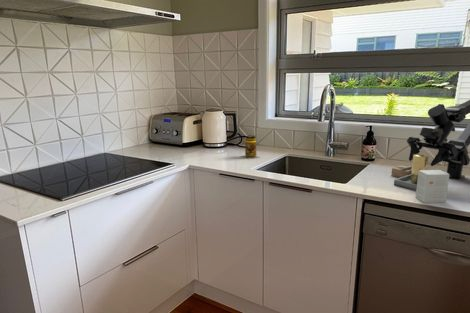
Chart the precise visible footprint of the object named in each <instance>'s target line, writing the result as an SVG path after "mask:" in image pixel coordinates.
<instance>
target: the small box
mask: <svg viewBox="0 0 470 313" xmlns="http://www.w3.org/2000/svg"><path fill="white" fill-rule="evenodd" d="M449 180H450V177H449V174H448V173H446V171H443V170H441V169H427V170H419V173H418V181H417V190H415V198H416V199H417V200H419V201H420V202H422V203H424V204H430V203H432V204H433V203H446V202H447V196H448V194H447V193H448V189H449V188H448V187H449V182H450V181H449Z"/></svg>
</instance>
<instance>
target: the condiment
mask: <svg viewBox="0 0 470 313" xmlns="http://www.w3.org/2000/svg"><path fill="white" fill-rule="evenodd" d="M244 146H245V149H244V150H245V152H244V153H245V154H244V155H241V157H242V158H245V159H248V160H250V159H251V160H252V159H257V158H259V156H258V155H257V138H256V135H252V134H251V135H246V136H245V142H244Z"/></svg>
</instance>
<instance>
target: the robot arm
mask: <svg viewBox="0 0 470 313" xmlns="http://www.w3.org/2000/svg"><path fill="white" fill-rule="evenodd" d="M468 114H470V99H469V100H466V101H464V102H462V103H461V104H458V105H452V106H447V107H445V105H444V104H443V103H438V104H437V105H436V106H433V107H431V108H429V110H428V111H427V115H428V117H429V118H430V120H431V122H432V124H433V125H434V126H435V127H434V128H431V127H424V126H423V127H422V128H421V131H420V133H419V136H421V137H422V139H423V141H421V139H420V138H419V137H415V136H409V137H408V138H407V139H406V143H407V144H408V146H409V147H410V152H409V156H408V160H409V162H411V161H413V155H414V154H420V152H421V151H420V150H422V148H426V149H431V150H437V151H438V152H437V153H436V155H435V157H434V158H433V160H432V161H431V163H430V166H431V167H433V166H435V165H437V164H439V163H441V162H445V163H447V166H446V171H445V172H446V173H448V174H449V179H450V178H451V179H455V180H461V179H462V178H465V177H466V176H465V175H464V174H463V170H464V169H463V168H464V166H468V165H469V164H470V157H469V149H468V147H469V145H470V122H469V123H468V124H467V125H466V127H465V128H464V130H463V131H462V133H461V134H460V135H459V136H458V138H457V139H455V140H453V139H451V140H449V141H448V136H449V135H450V134H451V132H454V133H455V131H456V129H455V128H456V127H455V124H454V123H457V124H459V123H461V122H462V121H464V120H465V119H466V116H467V115H468Z"/></svg>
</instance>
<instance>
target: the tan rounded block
mask: <svg viewBox="0 0 470 313" xmlns="http://www.w3.org/2000/svg"><path fill="white" fill-rule="evenodd" d="M411 171H412V165H408V166H405V165H398V166H397V165H396V166H394V167H391V173H390V174H391V176H393V177H396V178H401V177H404V176H407V175H410V174H411Z"/></svg>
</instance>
